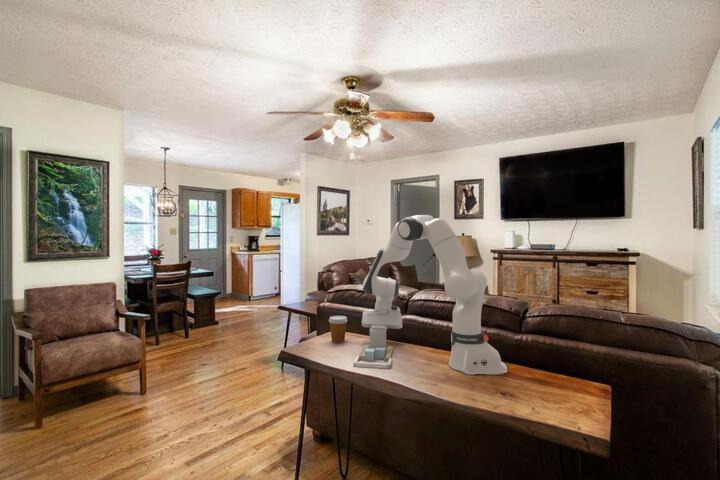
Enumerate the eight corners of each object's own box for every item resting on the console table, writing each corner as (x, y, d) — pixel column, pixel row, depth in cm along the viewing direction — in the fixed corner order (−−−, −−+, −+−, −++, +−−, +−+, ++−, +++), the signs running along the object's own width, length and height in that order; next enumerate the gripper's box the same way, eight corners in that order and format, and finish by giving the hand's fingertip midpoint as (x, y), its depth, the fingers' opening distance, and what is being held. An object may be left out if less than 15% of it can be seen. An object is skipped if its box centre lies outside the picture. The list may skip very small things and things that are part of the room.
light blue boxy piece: (385, 356, 159) (385, 347, 159) (384, 359, 156) (384, 350, 155) (376, 355, 160) (376, 346, 160) (375, 358, 156) (375, 349, 156)
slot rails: (393, 349, 168) (393, 346, 168) (389, 361, 152) (389, 357, 152) (365, 348, 170) (365, 344, 170) (359, 359, 155) (359, 356, 154)
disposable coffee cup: (347, 344, 177) (347, 319, 176) (327, 344, 177) (327, 319, 177) (348, 338, 186) (348, 315, 186) (329, 338, 186) (329, 315, 186)
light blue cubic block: (375, 357, 157) (375, 348, 157) (373, 361, 153) (373, 351, 153) (366, 357, 158) (366, 348, 158) (364, 360, 154) (364, 351, 154)
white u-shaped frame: (391, 361, 152) (391, 358, 152) (389, 368, 144) (389, 364, 144) (357, 359, 155) (357, 356, 155) (353, 366, 147) (353, 362, 147)
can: (367, 353, 163) (367, 327, 162) (373, 348, 169) (372, 323, 169) (383, 355, 160) (383, 328, 160) (388, 350, 167) (388, 324, 166)
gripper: (362, 306, 184) (358, 330, 174) (402, 307, 180) (401, 332, 171) (363, 313, 188) (360, 337, 179) (403, 314, 184) (401, 339, 175)
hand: (380, 334), depth 175 cm, fingers closed
